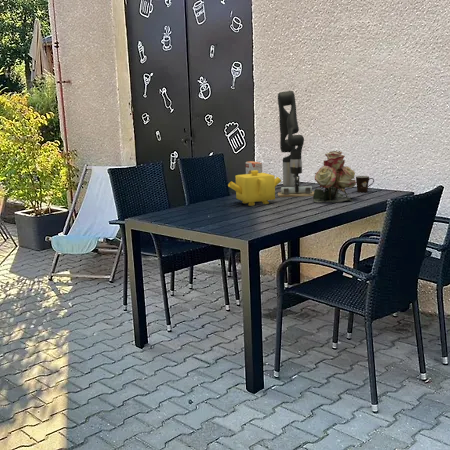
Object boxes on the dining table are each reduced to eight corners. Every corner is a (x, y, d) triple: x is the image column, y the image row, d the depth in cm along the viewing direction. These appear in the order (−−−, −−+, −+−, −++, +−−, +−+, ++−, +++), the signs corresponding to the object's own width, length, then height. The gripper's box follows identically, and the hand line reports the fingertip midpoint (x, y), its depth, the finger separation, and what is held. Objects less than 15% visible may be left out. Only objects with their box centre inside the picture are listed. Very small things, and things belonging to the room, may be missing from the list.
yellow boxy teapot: (270, 196, 382) (269, 165, 378) (290, 203, 355) (290, 170, 351) (220, 201, 371) (218, 170, 367) (237, 209, 344) (235, 175, 340)
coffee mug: (355, 192, 383) (355, 177, 381) (356, 190, 391) (356, 175, 389) (373, 192, 380) (373, 177, 378) (374, 190, 388) (374, 175, 386)
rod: (281, 194, 382) (281, 188, 381) (280, 193, 386) (280, 186, 385) (312, 193, 381) (312, 186, 380) (311, 191, 386) (311, 185, 384)
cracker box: (246, 191, 406) (245, 161, 402) (253, 190, 409) (252, 160, 404) (255, 194, 394) (254, 163, 389) (263, 193, 396) (262, 162, 392)
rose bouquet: (312, 203, 352) (311, 153, 346) (316, 195, 380) (315, 149, 373) (356, 203, 346) (356, 152, 340) (356, 195, 374) (357, 148, 368)
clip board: (277, 194, 390) (277, 186, 388) (313, 193, 389) (313, 185, 388) (278, 197, 379) (278, 189, 378) (316, 195, 378) (315, 187, 377)
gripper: (289, 165, 387) (289, 190, 390) (291, 167, 373) (291, 193, 376) (300, 164, 387) (301, 189, 390) (303, 167, 373) (303, 193, 376)
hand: (296, 191), depth 383 cm, fingers open, 6 cm apart
